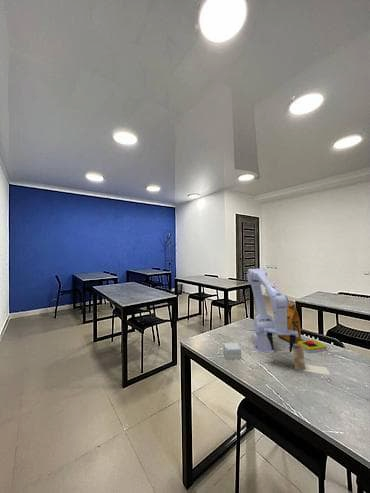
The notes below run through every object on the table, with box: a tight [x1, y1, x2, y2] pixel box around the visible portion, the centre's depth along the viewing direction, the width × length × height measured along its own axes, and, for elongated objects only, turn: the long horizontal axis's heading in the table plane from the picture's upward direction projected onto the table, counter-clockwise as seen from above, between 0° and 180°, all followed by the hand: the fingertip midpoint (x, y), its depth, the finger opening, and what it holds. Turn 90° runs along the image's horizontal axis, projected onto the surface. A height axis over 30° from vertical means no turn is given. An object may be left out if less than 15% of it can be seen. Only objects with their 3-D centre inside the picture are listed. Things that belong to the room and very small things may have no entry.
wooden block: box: [292, 344, 306, 371], centre depth 97 cm, size 4×4×9 cm
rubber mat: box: [302, 363, 330, 376], centre depth 97 cm, size 20×14×1 cm
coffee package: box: [277, 302, 302, 344], centre depth 128 cm, size 10×12×22 cm
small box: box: [223, 342, 242, 360], centre depth 111 cm, size 8×8×5 cm
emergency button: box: [296, 339, 331, 354], centre depth 115 cm, size 9×4×15 cm
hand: (281, 350), depth 100 cm, fingers open, 7 cm apart
